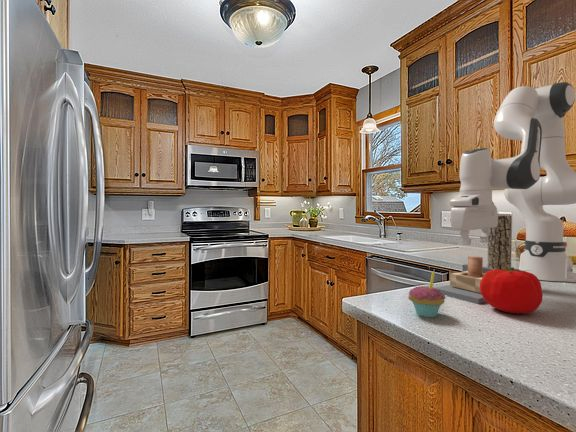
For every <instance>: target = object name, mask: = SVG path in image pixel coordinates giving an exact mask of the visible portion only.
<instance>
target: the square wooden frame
mask: <svg viewBox="0 0 576 432" xmlns="http://www.w3.org/2000/svg"><path fill="white" fill-rule="evenodd" d="M484 274H485V273H482V277H483V276H484ZM449 277H450V278H449V285H450V286H452V287H456V288H461V289H465V290H470V291H474V292H478V293H481V292H480V282H481V280H482V277H481V278H477V277H472V276H468V271H463V270H462V271H459V272H453V273H450V274H449Z"/></svg>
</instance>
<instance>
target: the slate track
mask: <svg viewBox="0 0 576 432" xmlns="http://www.w3.org/2000/svg"><path fill="white" fill-rule="evenodd" d="M490 270H494V268H488V266H487V267H486V266H483V267H482V273H486V272H488V271H490ZM463 271H468V263H467V264H466V263H465V264H462V272H463ZM434 288H436V289H437V290H439V291H440V292H442V294H444V296H445V295H447V297H449V296H450V298H453V297H454V298H453V299H457V298H458V300H461V299H462V300H461V301H465V302H469V303H472V304H477V305H479V304H483V303H487V302H486V301H485V299H484V298H483V296H482V295H481V293H478V292H474V291H470V290H465V289H461V288H456V287H452V286H450V284H446V285H440V286H436V287H434Z"/></svg>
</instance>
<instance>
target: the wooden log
mask: <svg viewBox="0 0 576 432" xmlns="http://www.w3.org/2000/svg"><path fill="white" fill-rule="evenodd" d="M512 217H513V215H512V214H511V213H498V225H497V227H494V228H490V234H489V236H488V242H487V268H494V269H507V268H509V269H511V267H512V243H513V242H512V238H513V237H512V232H513V229H512V227H513V224H512V223H513V222H512V221H513V220H512V219H513V218H512Z"/></svg>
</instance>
